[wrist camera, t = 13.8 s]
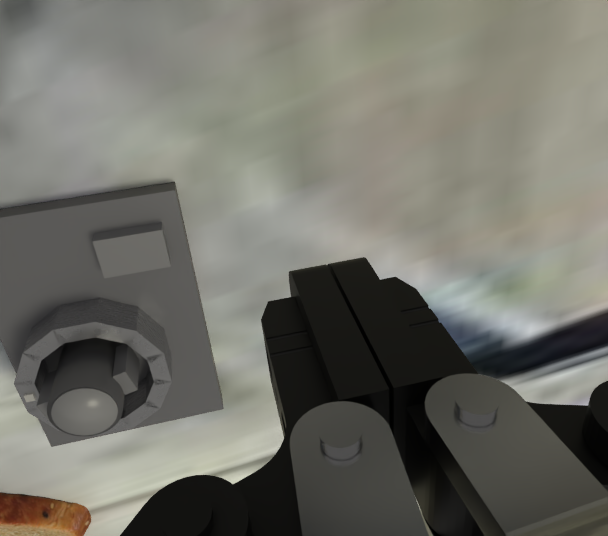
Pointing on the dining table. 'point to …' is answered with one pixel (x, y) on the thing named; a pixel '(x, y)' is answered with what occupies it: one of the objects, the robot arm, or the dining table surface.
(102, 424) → the domed grey cylinder
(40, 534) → the slice of bread
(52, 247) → the camera plate
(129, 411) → the grey thick ring
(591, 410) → the robot arm
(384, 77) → the dining table surface
